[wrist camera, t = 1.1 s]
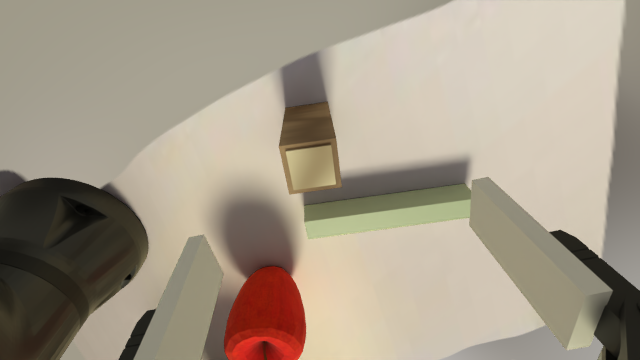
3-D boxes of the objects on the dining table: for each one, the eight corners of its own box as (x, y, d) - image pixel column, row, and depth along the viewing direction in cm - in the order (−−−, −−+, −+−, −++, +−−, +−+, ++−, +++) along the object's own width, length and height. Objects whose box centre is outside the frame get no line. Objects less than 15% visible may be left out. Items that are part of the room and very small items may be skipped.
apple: (262, 309, 43) (251, 394, 34) (223, 271, 39) (198, 355, 30) (317, 285, 42) (322, 368, 32) (282, 243, 38) (275, 323, 28)
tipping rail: (307, 222, 36) (307, 239, 34) (304, 205, 35) (304, 221, 32) (462, 201, 36) (475, 217, 33) (464, 183, 34) (477, 198, 32)
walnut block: (293, 146, 31) (289, 195, 23) (285, 107, 29) (278, 147, 21) (332, 140, 31) (341, 188, 23) (327, 101, 29) (336, 139, 21)
